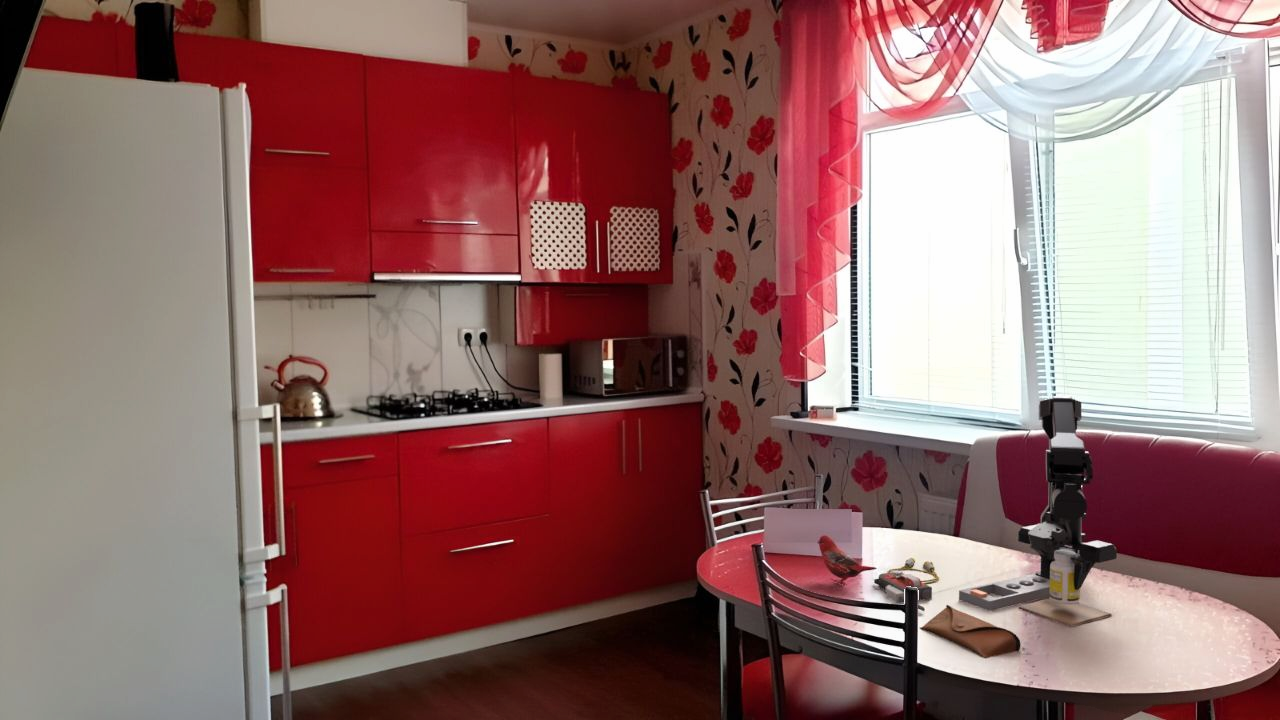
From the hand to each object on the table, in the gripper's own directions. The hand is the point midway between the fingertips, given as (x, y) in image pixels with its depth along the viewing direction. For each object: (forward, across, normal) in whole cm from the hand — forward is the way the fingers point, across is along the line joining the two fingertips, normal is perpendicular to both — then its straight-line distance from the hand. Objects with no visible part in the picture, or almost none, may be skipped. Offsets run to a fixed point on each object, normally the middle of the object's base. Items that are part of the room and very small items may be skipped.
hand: (1064, 585), depth 190 cm
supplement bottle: (+3, 0, 0) cm, 3 cm away
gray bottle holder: (+5, -12, -1) cm, 13 cm away
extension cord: (+6, -33, -7) cm, 35 cm away
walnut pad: (+5, 0, 0) cm, 5 cm away
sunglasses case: (+6, 0, -27) cm, 28 cm away
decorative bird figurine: (+6, -35, -26) cm, 44 cm away
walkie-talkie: (+6, -22, -20) cm, 30 cm away
